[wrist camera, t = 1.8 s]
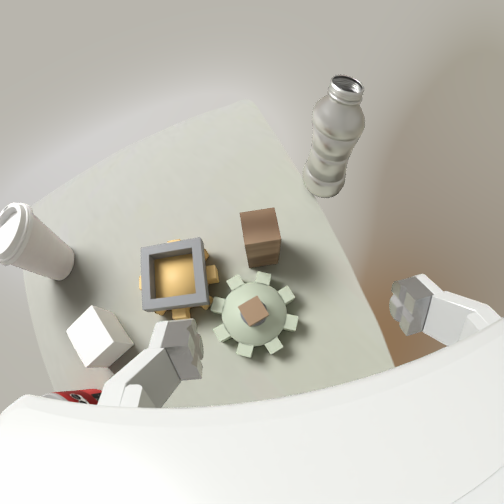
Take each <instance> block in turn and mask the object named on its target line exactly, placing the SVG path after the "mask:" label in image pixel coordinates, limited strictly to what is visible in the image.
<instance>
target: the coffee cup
mask: <svg viewBox="0 0 504 504" xmlns="http://www.w3.org/2000/svg"><path fill="white" fill-rule="evenodd" d="M0 263H1V264H2V265H5V266H7V265H10V264H11V265H13V266H16V267H19V268H22V269H25V270H28V271H30V272H33V273H36V274H39V275H42V276H45V277H48V278H51V279H54V280H58V281H59V280H63V279H65V278H66V277H67V276H68V275H69V274H70V272H71V270H72V268H73V265H74V252H73V250H72V249H71V248H70V247H69V246H68V245H67V244H66V243H65V242H63V241H62V240H61V239H60V238H59V237H58V236H57V235H56V234H54V233H53V232H52V231H51V230H50V229H49V228H48V227H47V226H46V225H45V224H43V223H42V222H41V221H40V220H39V219H38V218H37V217H36V216H35V215H34V214H33V211H32V208H31V207H30V206H29V205H27V204H24V203H11V204H9V205H8V206H6V207H5V208H4V209H3V210H2V212H1V213H0Z"/></svg>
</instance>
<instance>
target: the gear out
mask: <svg viewBox="0 0 504 504" xmlns="http://www.w3.org/2000/svg"><path fill="white" fill-rule="evenodd" d="M208 257H209V254H208V253H207V251H206V249H204V244H203V241H202V240H201V238H200V237H198V238H193V239H187V240H180V239H177V240H172V241H168V243H164V244H159V245H153V246H148V247H142V248H141V276H139V287H140V290H142V308H143V310H145V311H147V312H155V313H157V314H159V315H163V314H164V313H165V312H166V310H172V318H173V319H175V320H181V319H191V317H190V308H192V307H195V306H201V307H202V308H204V309H205V310H207V309H208V307H209V306H210V305H211V304H212V302H213V298H212V297H211V296H210V295H209V292H208V284H213V283H219V277H218V270H217V268H216V266H215V265H210V266H206V264H205V261H206V259H207V258H208Z"/></svg>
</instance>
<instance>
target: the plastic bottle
mask: <svg viewBox="0 0 504 504" xmlns="http://www.w3.org/2000/svg"><path fill="white" fill-rule="evenodd" d="M363 92H364V87H363V85H362V83H361V82H359V81H358V80H356V79H355V78H353V77H350V76H347V75H335V76H333V77H332V79H331V82H330V86H329V87H328V95H326V96H324V97H323V98H322V99H320V100H319V101H318V102H317V103H316V105H315V107H314V108H313V111H312V127H313V128H312V129H313V136H312V146H311V150H310V154H309V157H308V160H307V161H306V163H305V166H304V168H303V182H304V185H305V187H306V188H307V189H308V190H309V191H310V192H311V193H312V194H314V195H316V196H318V197H322V198H329V197H333V196H335V195H337V194H338V193H339V191H340V190H341V189H342V187H343V185H344V182H345V175H346V168H347V163H348V159H349V157H350V155H351V153H352V150H353V148H354V146H355V145H356V143H357V141H358V140H359V138H360V136H361V134H362V133H363V130H364V128H365V118H364V114H363V112H362V109H361V107H360V105H359V104H360V103H361V101H362V95H363Z"/></svg>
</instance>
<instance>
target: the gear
mask: <svg viewBox="0 0 504 504" xmlns="http://www.w3.org/2000/svg"><path fill="white" fill-rule="evenodd" d="M226 282H227V283H228V285H229V287H230V289H231V290H232V291H231V293H230V294H229V295H228V296H227V298H226V299H223V298H219V297H215V296H214V299H213V302H212V306H211V309H210V310H211V311H213V312H214V313H218V314H221V315H222V321H223V324H221V325H219V326H217V327H216V328H214V329H213V331H214V332H215V334H216V336H217V338H218V339H219V341H220V342H224V341H226V340H228V339H230V338H231V337H232V338H233V339H235V340H236V341H238V342H239V344H238V348H237V352H236V354H238V355H242V356H246V357H250V358H251V357H252V353H253V349H254V346H261V345H265V347H266V348H267V350H268V351H269V353H270V354H273V353H274V352H276V351H278V350H279V349H281V348H283V345H282V344H281V342H280V340H279V339H278V337H277V336H278V335H279V334H280V333H281V331H282V330H287V331H292V332H294V331H295V330H296V326H297V322H298V317H299V316H295V315H290V314H287V310H286V305H287V304H289V303H290V302H292V301H293V300H294V298H295V296H294V294H293V293H292V291H291V290H290V288H289V287H288V285H287V286H285V287H284V288H282V289H280V290H279V291H276V290H275V289H274V288H272V287H271V286H270V282H271V274H268V273H264V272H260V271H258V272H257V276H256V279H255V282H250V283H245V284H244V282H243V281H242V279H241V277H240V276H239V274H237V275H236V276H234V277H232V278H231V279H229V280H227V281H226Z"/></svg>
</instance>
